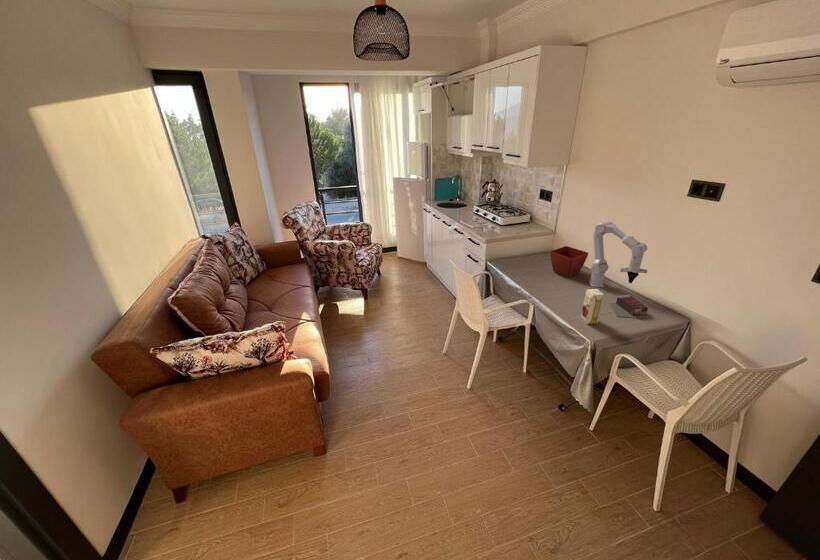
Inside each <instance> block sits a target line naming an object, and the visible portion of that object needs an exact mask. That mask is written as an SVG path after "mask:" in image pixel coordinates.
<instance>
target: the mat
mask: <svg viewBox="0 0 820 560" xmlns="http://www.w3.org/2000/svg"><path fill="white" fill-rule="evenodd" d="M608 304H609V306H610V307H611V309H612V310H613V312H614V314H615V316H616V317H618V318H627V319H628V318H629V319H640V320H642V319H643V317H642V315H634V316H633V315H631V314H630V313H629V312H627V311H626V310H625V309H623V308H622V307H621V306H619V305H618V304H617V303H615V302H609V303H608Z"/></svg>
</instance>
